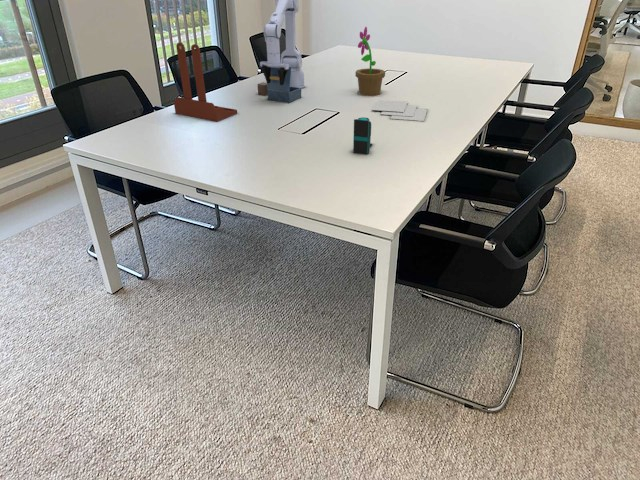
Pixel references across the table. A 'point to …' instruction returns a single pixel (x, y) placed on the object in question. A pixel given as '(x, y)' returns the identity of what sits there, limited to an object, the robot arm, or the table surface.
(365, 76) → the flowerpot
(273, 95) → the tin box
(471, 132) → the table surface
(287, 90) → the lid
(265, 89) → the walnut block
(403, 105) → the paper stack
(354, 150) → the black teal block
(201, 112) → the hanging shelf
